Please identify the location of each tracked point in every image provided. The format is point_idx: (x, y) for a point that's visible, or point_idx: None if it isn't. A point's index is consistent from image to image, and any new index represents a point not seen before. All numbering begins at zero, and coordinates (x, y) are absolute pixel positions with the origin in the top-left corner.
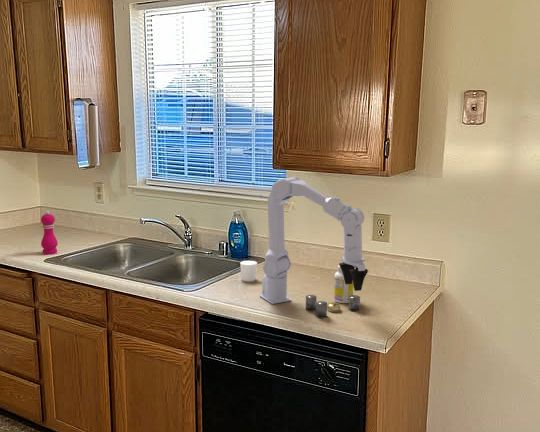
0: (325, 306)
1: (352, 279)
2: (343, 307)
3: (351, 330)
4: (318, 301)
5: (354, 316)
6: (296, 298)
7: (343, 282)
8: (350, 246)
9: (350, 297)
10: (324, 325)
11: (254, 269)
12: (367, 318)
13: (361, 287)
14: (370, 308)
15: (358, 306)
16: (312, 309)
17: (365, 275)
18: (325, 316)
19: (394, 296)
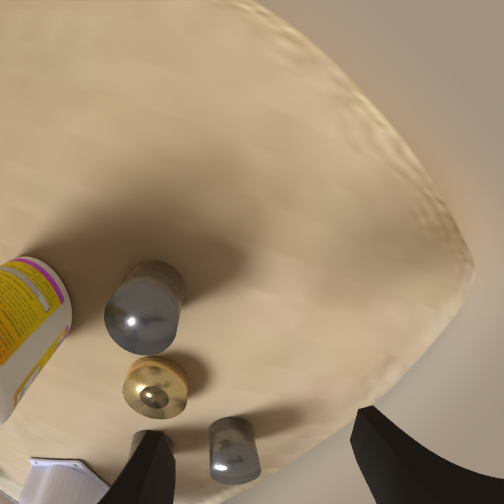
0: (256, 458)
1: (153, 458)
2: None
3: (391, 357)
4: (213, 478)
5: (257, 317)
6: (52, 440)
7: (21, 385)
8: None
9: (152, 353)
10: (321, 428)
11: None
12: (296, 261)
13: (387, 419)
14: (147, 190)
15: (176, 284)
16: (172, 448)
17: (481, 475)
18: (250, 426)
19: (26, 29)
